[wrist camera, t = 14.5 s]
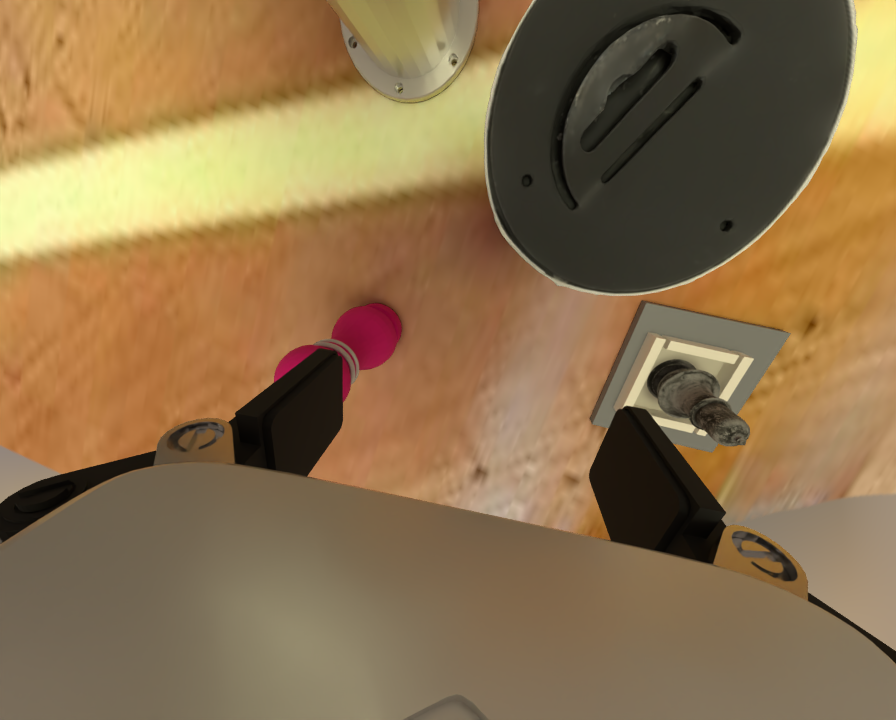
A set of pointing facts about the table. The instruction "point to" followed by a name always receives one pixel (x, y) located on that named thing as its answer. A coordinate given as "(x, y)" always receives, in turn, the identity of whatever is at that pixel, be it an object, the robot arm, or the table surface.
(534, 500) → the table surface
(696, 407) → the salt shaker
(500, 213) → the speaker
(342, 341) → the pepper mill
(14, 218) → the table surface
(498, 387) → the table surface
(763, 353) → the socket board
